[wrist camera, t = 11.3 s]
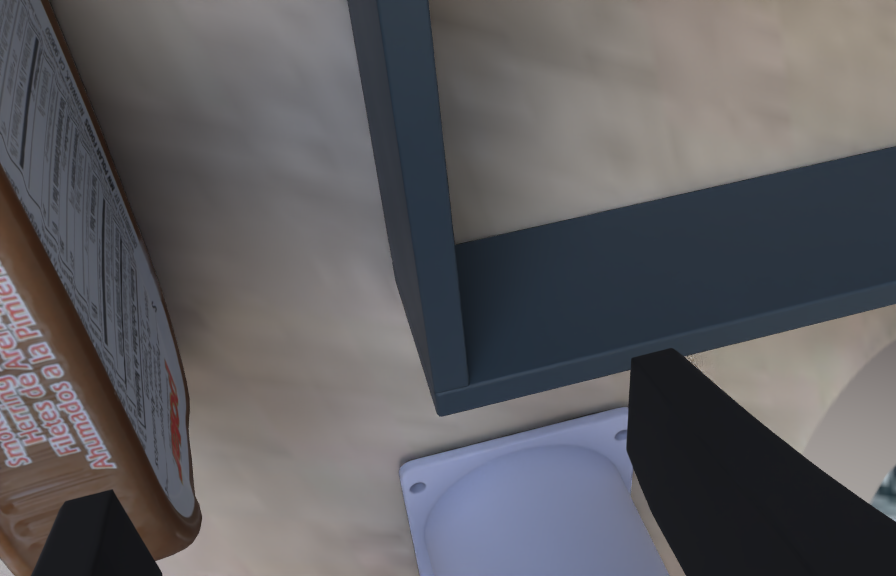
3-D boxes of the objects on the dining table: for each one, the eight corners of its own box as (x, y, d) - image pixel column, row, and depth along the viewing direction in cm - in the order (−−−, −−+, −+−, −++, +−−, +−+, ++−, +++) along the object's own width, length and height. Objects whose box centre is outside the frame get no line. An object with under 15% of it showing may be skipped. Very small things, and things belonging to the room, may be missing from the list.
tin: (-273, -328, 13) (-719, -226, 6) (-49, -354, 13) (-260, -285, 7) (92, 376, 22) (60, 690, 16) (213, 349, 23) (228, 644, 17)
